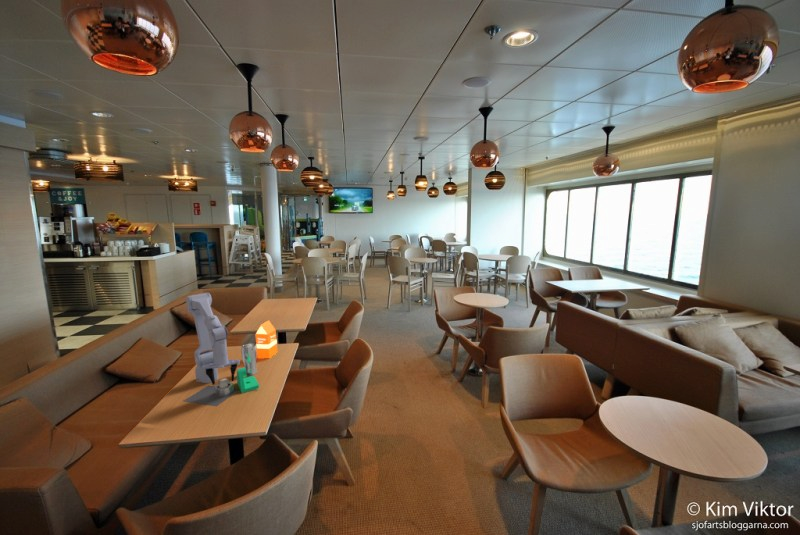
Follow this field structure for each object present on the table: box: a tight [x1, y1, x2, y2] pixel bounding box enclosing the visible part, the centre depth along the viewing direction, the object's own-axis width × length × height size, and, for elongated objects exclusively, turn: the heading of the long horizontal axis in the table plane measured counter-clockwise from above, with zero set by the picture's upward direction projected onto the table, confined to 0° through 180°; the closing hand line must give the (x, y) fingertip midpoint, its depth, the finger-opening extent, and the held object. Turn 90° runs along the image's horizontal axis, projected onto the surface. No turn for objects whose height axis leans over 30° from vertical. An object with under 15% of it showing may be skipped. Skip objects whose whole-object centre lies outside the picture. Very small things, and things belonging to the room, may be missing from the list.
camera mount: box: [236, 366, 260, 394], centre depth 156 cm, size 12×8×10 cm, turn 35°
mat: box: [183, 384, 241, 407], centre depth 149 cm, size 18×14×1 cm
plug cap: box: [218, 378, 229, 389], centre depth 150 cm, size 4×4×6 cm
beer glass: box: [240, 343, 258, 377], centre depth 171 cm, size 7×7×15 cm
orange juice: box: [254, 320, 278, 359], centre depth 192 cm, size 8×9×20 cm
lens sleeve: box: [214, 381, 235, 397], centre depth 150 cm, size 7×7×4 cm
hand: (223, 382), depth 150 cm, fingers open, 7 cm apart
